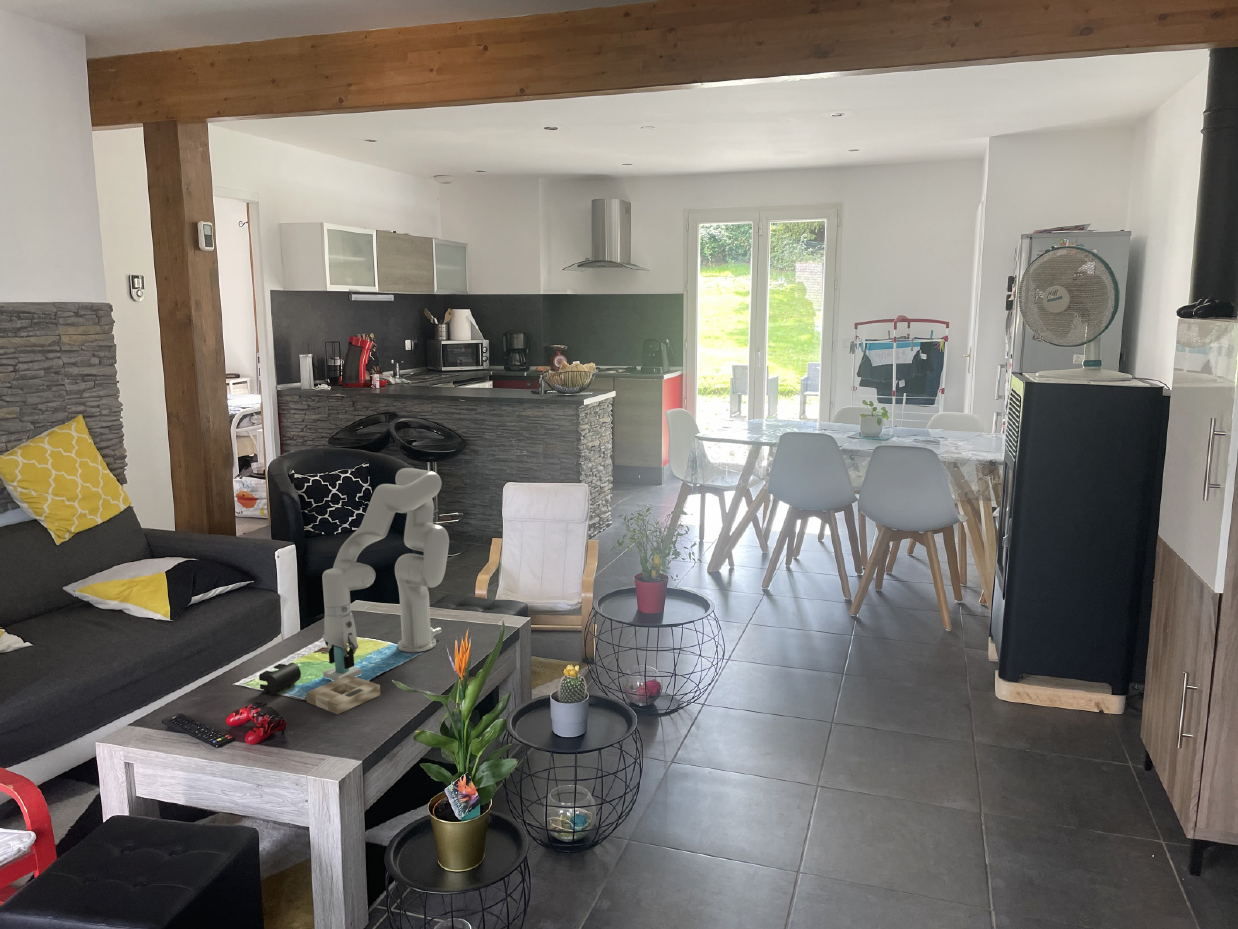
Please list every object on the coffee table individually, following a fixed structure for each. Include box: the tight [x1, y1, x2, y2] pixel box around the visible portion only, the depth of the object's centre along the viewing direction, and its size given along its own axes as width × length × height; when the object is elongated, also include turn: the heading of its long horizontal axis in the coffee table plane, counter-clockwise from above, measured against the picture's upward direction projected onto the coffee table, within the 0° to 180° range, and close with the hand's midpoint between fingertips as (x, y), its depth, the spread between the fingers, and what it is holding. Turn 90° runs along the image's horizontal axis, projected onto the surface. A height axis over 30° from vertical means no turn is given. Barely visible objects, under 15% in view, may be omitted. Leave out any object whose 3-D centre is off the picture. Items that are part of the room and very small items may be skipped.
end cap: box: [258, 662, 302, 697], centre depth 260 cm, size 10×7×7 cm
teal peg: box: [334, 646, 349, 673], centre depth 267 cm, size 4×4×8 cm
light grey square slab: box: [322, 665, 363, 680], centre depth 268 cm, size 8×8×2 cm
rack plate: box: [305, 674, 381, 715], centre depth 253 cm, size 15×14×3 cm
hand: (341, 664), depth 268 cm, fingers open, 6 cm apart
